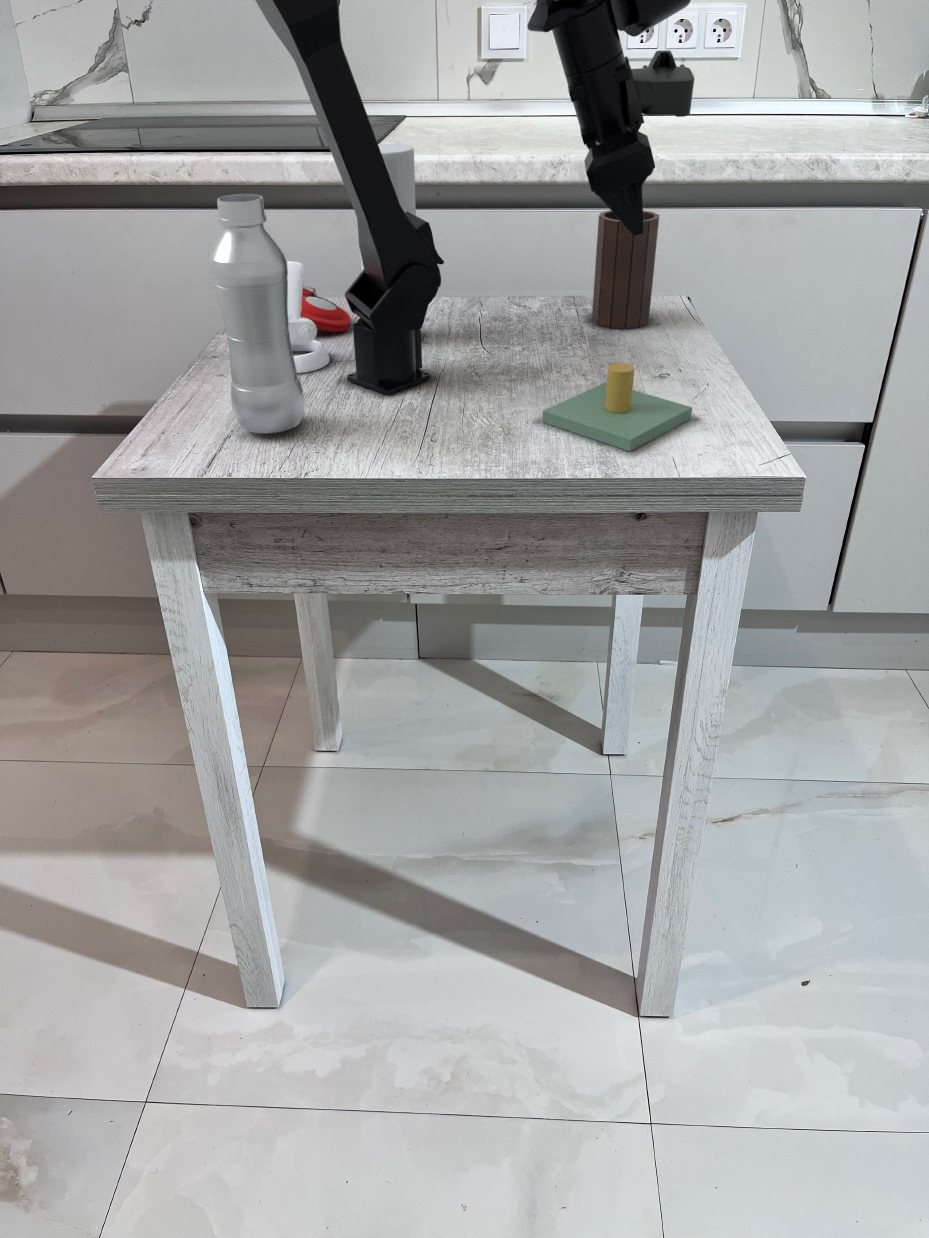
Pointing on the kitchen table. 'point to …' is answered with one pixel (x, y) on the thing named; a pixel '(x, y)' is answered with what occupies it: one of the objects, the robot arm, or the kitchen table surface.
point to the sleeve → (624, 272)
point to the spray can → (400, 175)
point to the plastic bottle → (255, 317)
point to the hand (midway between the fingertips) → (634, 216)
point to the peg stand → (617, 412)
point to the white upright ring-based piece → (302, 325)
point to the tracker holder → (323, 312)
